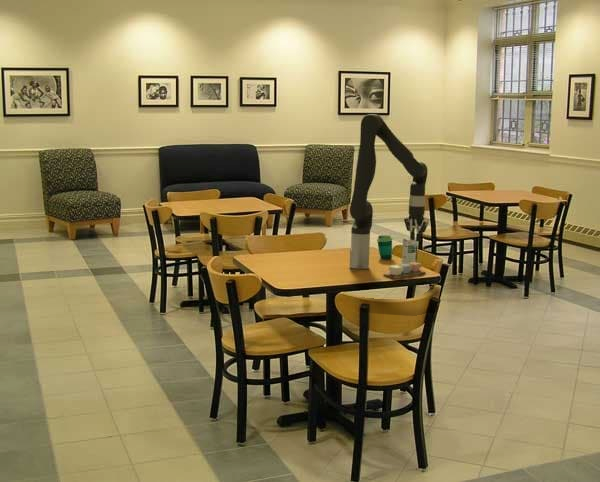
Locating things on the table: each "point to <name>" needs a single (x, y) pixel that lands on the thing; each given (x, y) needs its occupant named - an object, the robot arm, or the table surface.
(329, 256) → the table surface
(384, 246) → the cup
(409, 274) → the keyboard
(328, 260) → the table surface
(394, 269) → the key cream
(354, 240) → the robot arm
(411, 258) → the syrup box
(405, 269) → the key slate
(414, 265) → the key terracotta
